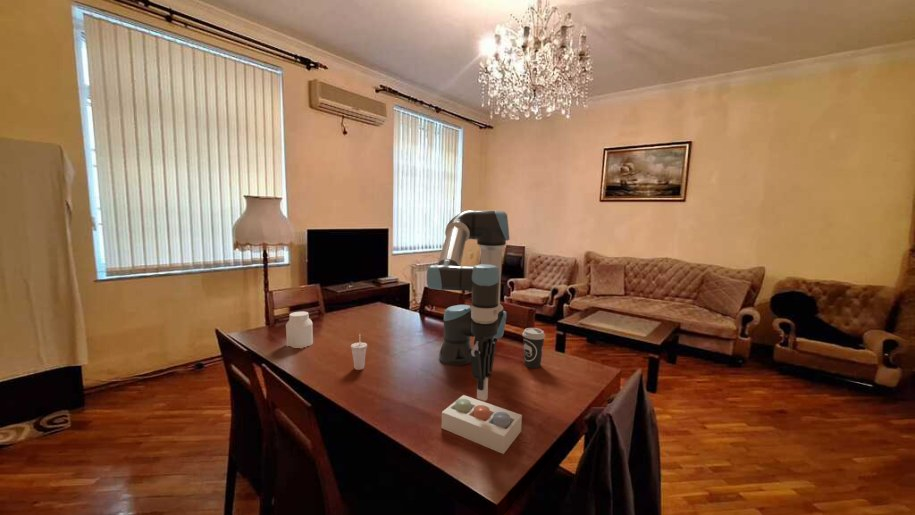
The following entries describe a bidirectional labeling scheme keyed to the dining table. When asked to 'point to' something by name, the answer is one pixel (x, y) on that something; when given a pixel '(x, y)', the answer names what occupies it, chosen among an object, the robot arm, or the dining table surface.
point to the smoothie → (359, 354)
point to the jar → (299, 330)
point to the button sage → (463, 405)
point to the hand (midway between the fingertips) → (482, 398)
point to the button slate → (501, 420)
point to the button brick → (481, 412)
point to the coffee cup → (533, 346)
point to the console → (482, 426)
